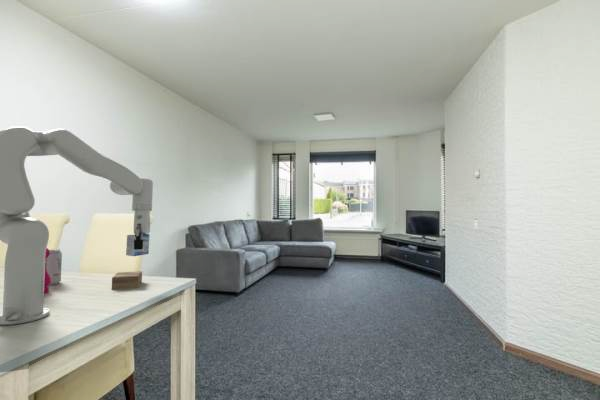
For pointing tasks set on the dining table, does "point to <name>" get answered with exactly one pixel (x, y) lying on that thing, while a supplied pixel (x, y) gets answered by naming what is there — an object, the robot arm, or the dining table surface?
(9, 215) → the robot arm
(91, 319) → the dining table surface
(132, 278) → the walnut plinth
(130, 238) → the medicine box
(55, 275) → the grey upright box
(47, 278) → the pepper mill
